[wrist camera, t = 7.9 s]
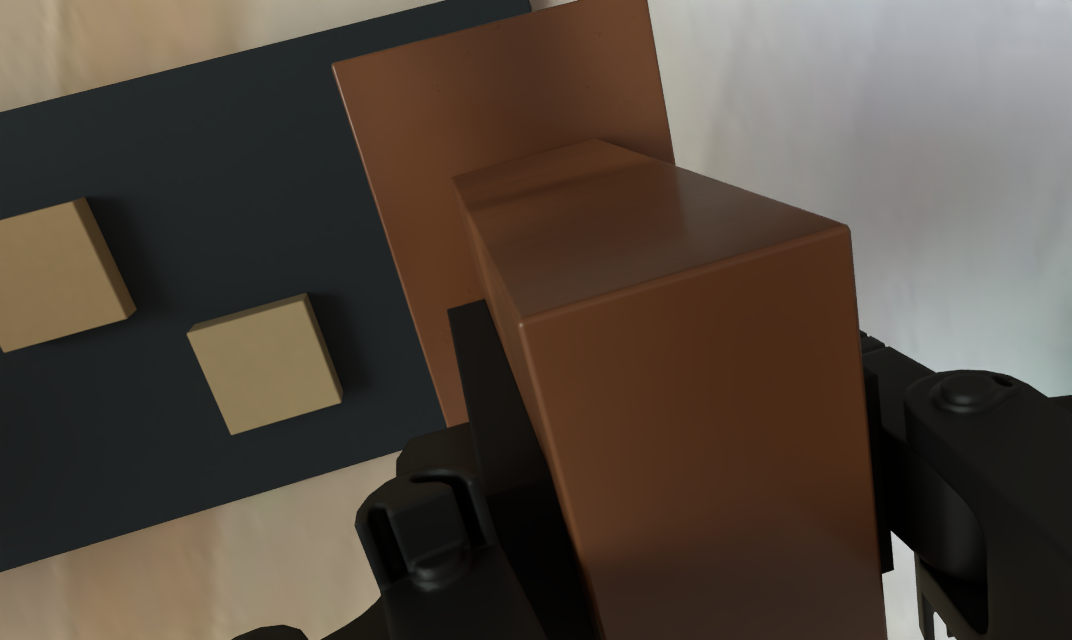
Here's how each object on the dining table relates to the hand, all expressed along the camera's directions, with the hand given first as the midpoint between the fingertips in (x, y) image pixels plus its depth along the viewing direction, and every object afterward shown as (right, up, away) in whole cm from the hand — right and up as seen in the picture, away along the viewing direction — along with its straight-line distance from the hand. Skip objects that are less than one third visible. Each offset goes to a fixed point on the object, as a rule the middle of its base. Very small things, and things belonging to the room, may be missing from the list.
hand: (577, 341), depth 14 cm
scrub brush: (-1, +1, +4) cm, 5 cm away
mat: (-11, +1, +12) cm, 16 cm away
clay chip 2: (-10, -1, +12) cm, 16 cm away
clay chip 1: (-17, +2, +10) cm, 20 cm away
